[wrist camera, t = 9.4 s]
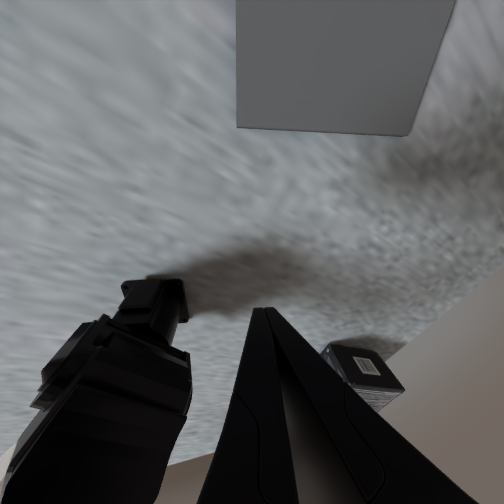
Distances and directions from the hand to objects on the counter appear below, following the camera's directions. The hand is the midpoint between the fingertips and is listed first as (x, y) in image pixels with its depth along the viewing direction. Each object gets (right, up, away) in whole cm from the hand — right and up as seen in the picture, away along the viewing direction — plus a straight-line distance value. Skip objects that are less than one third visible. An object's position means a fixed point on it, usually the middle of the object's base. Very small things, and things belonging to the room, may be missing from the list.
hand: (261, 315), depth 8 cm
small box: (+17, -14, +21) cm, 30 cm away
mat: (+6, +17, +7) cm, 19 cm away
